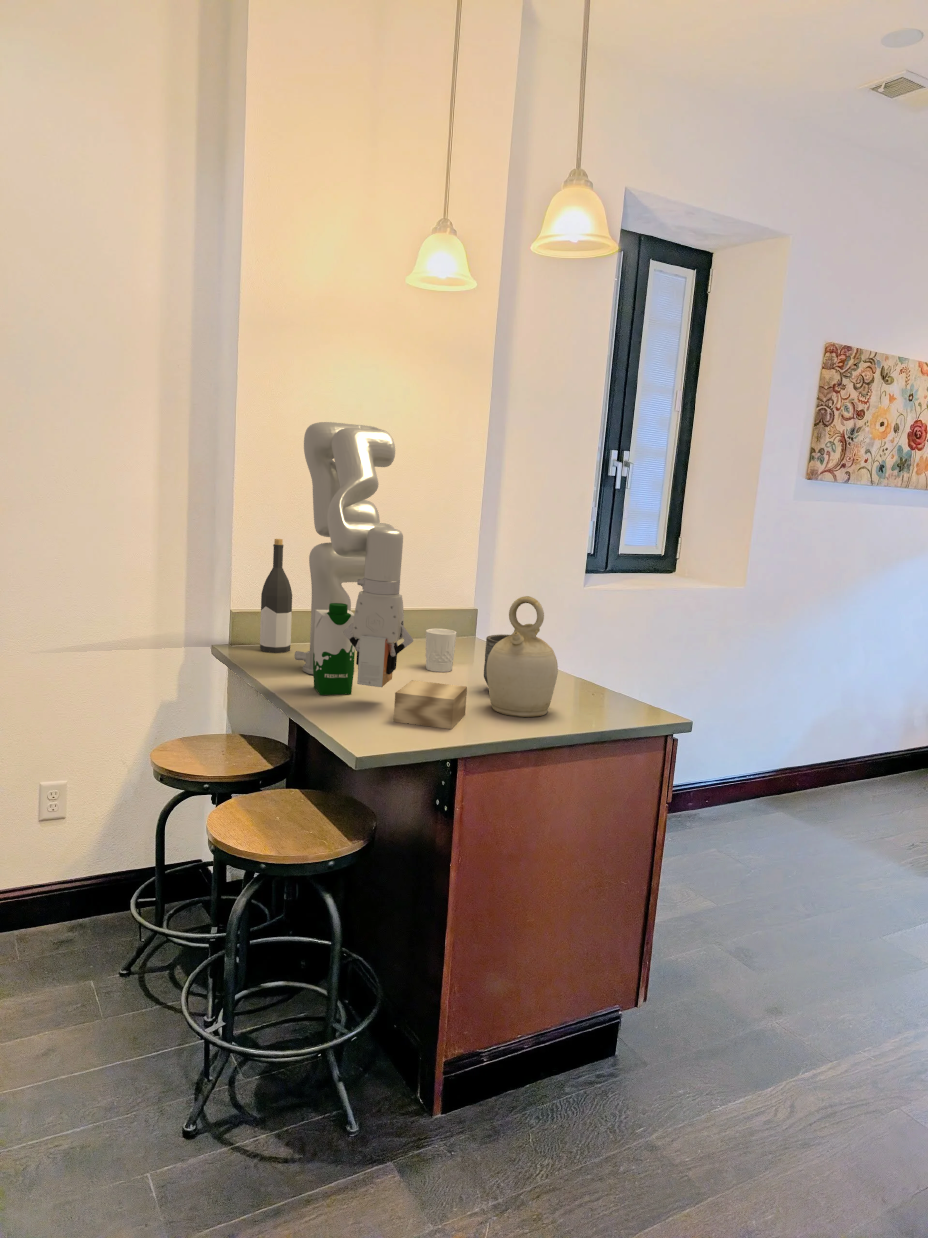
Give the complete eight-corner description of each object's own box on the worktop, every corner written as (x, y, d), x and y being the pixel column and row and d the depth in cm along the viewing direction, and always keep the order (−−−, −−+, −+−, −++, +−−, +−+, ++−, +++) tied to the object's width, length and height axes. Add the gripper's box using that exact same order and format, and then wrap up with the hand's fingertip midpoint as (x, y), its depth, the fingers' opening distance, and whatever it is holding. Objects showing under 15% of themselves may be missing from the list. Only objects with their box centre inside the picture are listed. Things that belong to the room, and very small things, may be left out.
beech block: (393, 721, 176) (395, 692, 175) (410, 707, 188) (412, 680, 187) (451, 729, 174) (453, 699, 173) (465, 714, 185) (467, 686, 184)
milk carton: (317, 696, 192) (320, 605, 189) (308, 686, 200) (312, 599, 197) (356, 695, 195) (360, 606, 192) (346, 685, 204) (350, 600, 201)
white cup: (418, 670, 225) (420, 631, 224) (431, 664, 232) (433, 627, 231) (447, 674, 222) (449, 635, 221) (458, 668, 230) (461, 631, 228)
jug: (511, 697, 203) (519, 589, 199) (567, 711, 193) (577, 599, 189) (469, 708, 191) (477, 593, 187) (527, 724, 181) (537, 603, 177)
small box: (382, 688, 184) (385, 639, 181) (356, 684, 185) (359, 635, 182) (392, 679, 191) (396, 631, 189) (368, 675, 192) (371, 628, 190)
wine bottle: (296, 650, 239) (300, 540, 235) (275, 654, 232) (279, 540, 228) (274, 645, 243) (278, 537, 239) (253, 649, 237) (256, 537, 232)
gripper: (336, 584, 182) (331, 669, 186) (416, 595, 178) (409, 680, 182) (348, 579, 189) (343, 661, 193) (426, 589, 186) (419, 672, 189)
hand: (375, 669), depth 187 cm, fingers closed on small box, 5 cm apart
